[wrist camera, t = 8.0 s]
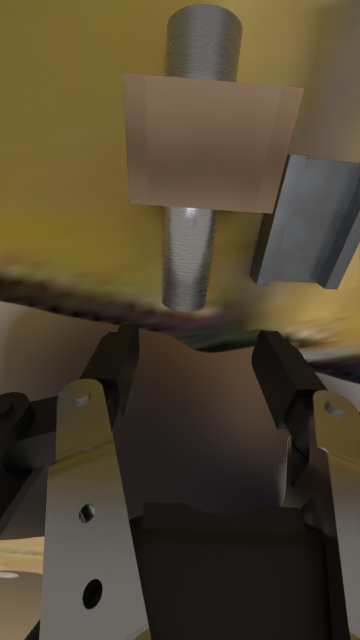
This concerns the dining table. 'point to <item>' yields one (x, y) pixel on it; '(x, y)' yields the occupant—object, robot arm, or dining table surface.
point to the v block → (310, 224)
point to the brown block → (207, 141)
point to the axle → (193, 223)
